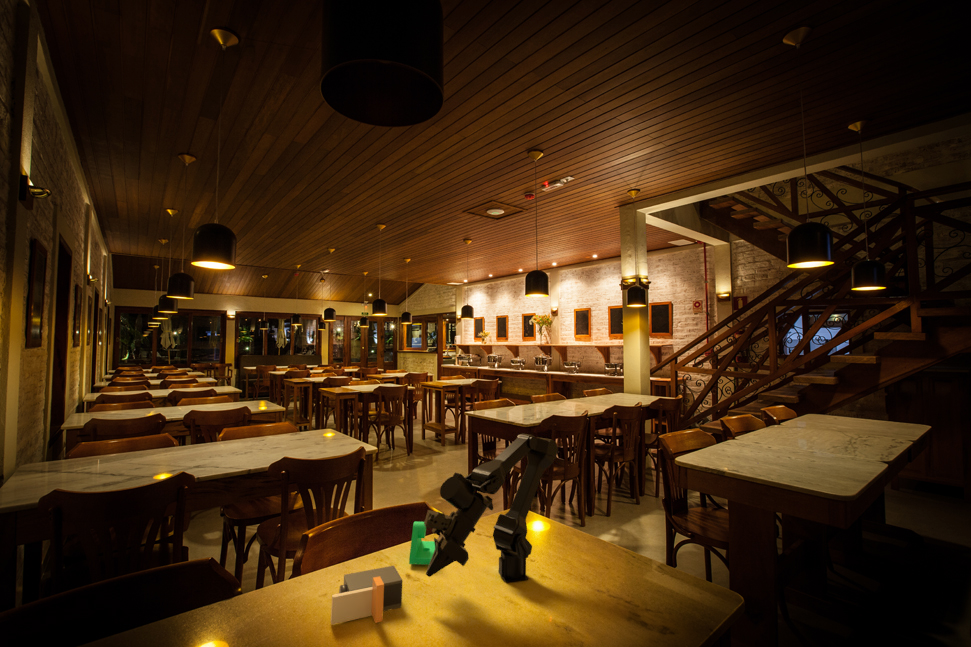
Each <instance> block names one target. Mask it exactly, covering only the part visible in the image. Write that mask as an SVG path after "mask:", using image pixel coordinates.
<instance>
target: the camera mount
mask: <svg viewBox="0 0 971 647" xmlns="http://www.w3.org/2000/svg"><path fill="white" fill-rule="evenodd" d="M424 522H425V521H414V522H413V525H412V531H411V532H412V534H411V540H410V548H409V549H410V551H409V560H408V564H409V565H428V566H429V564H430V561H431V558H432V556H433V553H434V550H435V543H434V540H431V541H430V540H422V539H425V538H426V532H427V527H426V526H425V524H424Z"/></svg>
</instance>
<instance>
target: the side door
mask: <svg viewBox="0 0 971 647" xmlns="http://www.w3.org/2000/svg"><path fill="white" fill-rule="evenodd" d="M383 600H384V583H383V581H382V579H381V577H380V576H379V577H374V578H373V586H372V587H368V588H363V589H359V590H354V591H349V592H344V593H339V592H338V593H335V594H332V595H331V607H330V609H331V611H330V625H336V624H341V623H346V622H349V621H355V620H358V619H363V618H366V617H372V620H373V621H374V623H375V624H376V623H381V622H383V618H384V616H383V615H384V611H383Z"/></svg>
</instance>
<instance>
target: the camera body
mask: <svg viewBox="0 0 971 647" xmlns="http://www.w3.org/2000/svg"><path fill="white" fill-rule="evenodd" d="M379 576H380V577H381V579H382V581H383V583H384V600H383V612H385V611H390V610H394V609H399V608H402V604H403V578H402V577H401V575H400V573H399V572H398V569H397V568H396V567H395V565H388V566H384V567H379V568H373V569H368V570H362V571H357V572H351V573H346V574H343V584H340V585H339V589H338V590H339V592H338V594H339V593H344V592H349V591H354V590H359V589H363V588H368V587H372V586H373V578H374V577H379Z"/></svg>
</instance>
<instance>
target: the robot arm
mask: <svg viewBox="0 0 971 647" xmlns="http://www.w3.org/2000/svg"><path fill="white" fill-rule="evenodd" d="M558 452H559V447H558V445H557V442H556V441H555V440H554V439H550V438H543V437H537V436H534V435H533V434H527V433H520V434H518V435H517V436H516V439H515V440H514V441H512V442H511V443H510V444H509V445H508V446H507V447H506V448H505V449H503V451H501V452H500V453H499V454H498V455H497V456H496V457H494V458H493V459H492V460H490V461H486V462H483V463H482V464H480V465H477V467H475V468H474V469H473V470H472V472H471V473H469V474H468V475H466V476H465V477H464V475H463V474H461V473H460V472H457V471H456V472H454V474H453V475H452V476H451V477H450V476H449V477H448V478H447V479H446V480H444V482H443V483H442V484H441V486H440V489H439V496H440V497H441V498H442V499H443V500H444V501H445V502H447V503H448V504H450V505H452V506H453V507H454V508H455V509H456V511H454V510H453V511H451V513H450V514H449V515H447V514H445V513H444V512H440V511H434V510H430V509H428V510H427V512H426V516H425V519H424V521H423V522H424V524H425V526H426V528H428V529H431V531H432V533H433V534H434V535H437V536H438V537H437V538H436V537H433V541H434V543H435V550H434V553H433V556H432V558H431V561H430V564H429V565H428V566H427V569H426V572H425V575H426V576H427V577H429V578H430V577H432V576H434V575H435V574H436V573H438V572H440V571H441V570H444V568H446V567H447V566H449V565H451V564H453V563H454V562H457V563H458V564H460V565H461V566H462V567H464V566H466V564H467V563H468V561H469V551H468V550H467V549H466V548H465V547H466V543H465V541H466V540H467V538H469V536H470V534H471V533H475V532H476V530H477V529H476V528H475V526H476V525H477V524H478V522H479V520H480V519H481V517H482V516H483V514H484V512H486V510H487V509H489V510H490V511H493V510H494V505H493V504H494V503H493V498H492V497H490V496H489V495H496V494H497V493H498V491H499V490H500V489H501V487H502V486H503V485H504V484H505V480H506V476H507V474H508V473H509V472H510V471H511V470H512V469H513V468H514V467H515V466H516V465H517V464H518V463H519V462H520V461H521V460H522V459H523V458H524V457H525V456H526V458H527V465H526V468H525V470H524V473H523V475H522V478H521V480H520V483H519V485H518V488H517V490H516V493H515V495H514V497H513V500H512V502H511V505H510V508H509V510H508V511H507V512H506V513H504V514H503V513H499V515H498V517H497V520H496V523H495V525H494V526H493V532H492V537H493V541H494V545H495V549H496V550H497V551H500V556H499V557H498V570H497V571H498V573H499V575H500V577H502V580H503V581H504V582H505V583H514V582H521V581H528V580H529V576H528V575H527V558H529V556H530V555H531V554H532V549H533V545H532V544H531V542H530V541H529V540H528V539H527V534H528V527H527V517H528V514H529V512H530V509H531V506H532V504H533V501H534V498H535V495H536V492H537V490H538V488H539V485H540V482H541V479H542V477H543V474H544V472H545V470H546V469H548V468H549V467H550V466H551V465H553V463H554V461H555V459H556V457H557V455H558ZM482 493H483V494H489V495H483V494H482Z"/></svg>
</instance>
